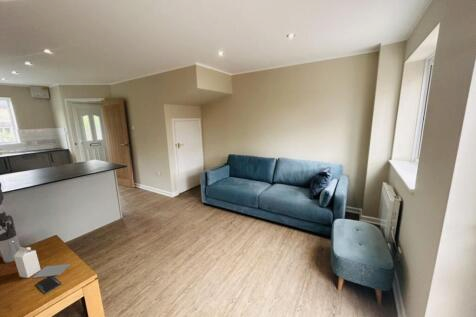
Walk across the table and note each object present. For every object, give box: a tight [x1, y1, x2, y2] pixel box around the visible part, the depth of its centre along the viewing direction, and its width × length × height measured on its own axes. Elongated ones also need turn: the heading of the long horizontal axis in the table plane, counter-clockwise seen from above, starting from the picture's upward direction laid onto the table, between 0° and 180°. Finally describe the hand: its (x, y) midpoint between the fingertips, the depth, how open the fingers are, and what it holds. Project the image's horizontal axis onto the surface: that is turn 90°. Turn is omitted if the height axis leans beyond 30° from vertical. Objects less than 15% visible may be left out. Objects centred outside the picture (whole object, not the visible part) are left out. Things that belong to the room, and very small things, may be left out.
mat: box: [31, 263, 72, 279], centre depth 130 cm, size 16×10×1 cm, turn 95°
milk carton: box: [14, 246, 42, 279], centre depth 127 cm, size 7×7×19 cm
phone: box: [35, 275, 62, 295], centre depth 118 cm, size 8×1×15 cm
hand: (2, 237), depth 123 cm, fingers open, 5 cm apart
